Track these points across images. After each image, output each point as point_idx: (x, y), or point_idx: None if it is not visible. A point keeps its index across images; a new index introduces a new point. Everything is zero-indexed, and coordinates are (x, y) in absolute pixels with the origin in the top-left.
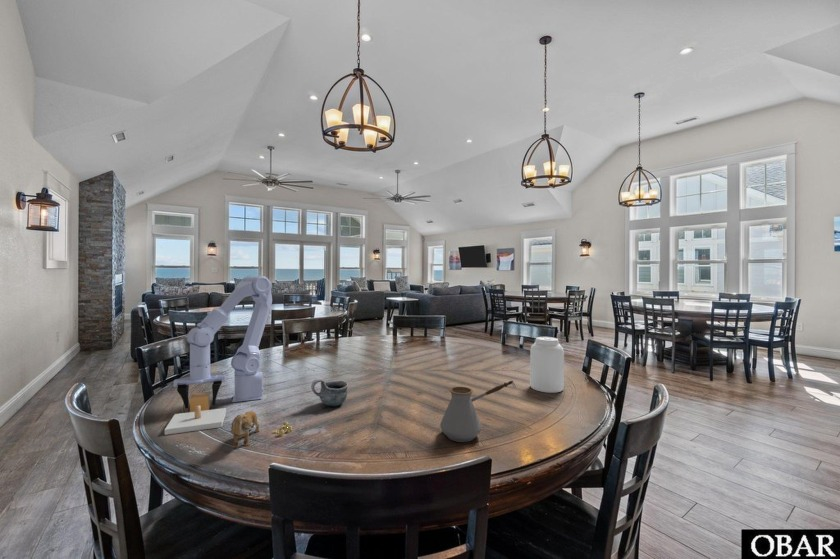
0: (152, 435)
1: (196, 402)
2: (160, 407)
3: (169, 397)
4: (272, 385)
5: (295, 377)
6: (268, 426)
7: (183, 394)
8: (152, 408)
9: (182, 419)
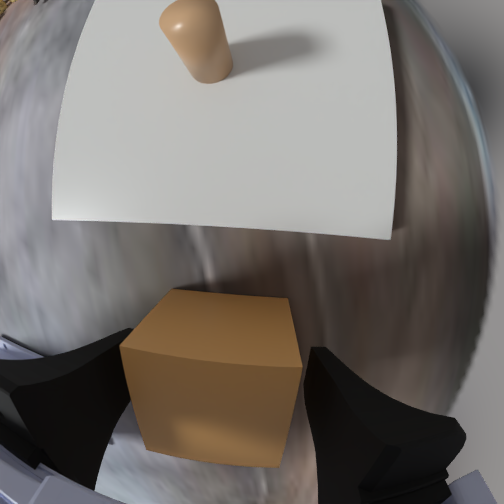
0: (422, 35)
1: (238, 334)
2: None
3: None
4: None
5: None
6: (7, 28)
7: (378, 408)
8: None
9: (319, 80)
